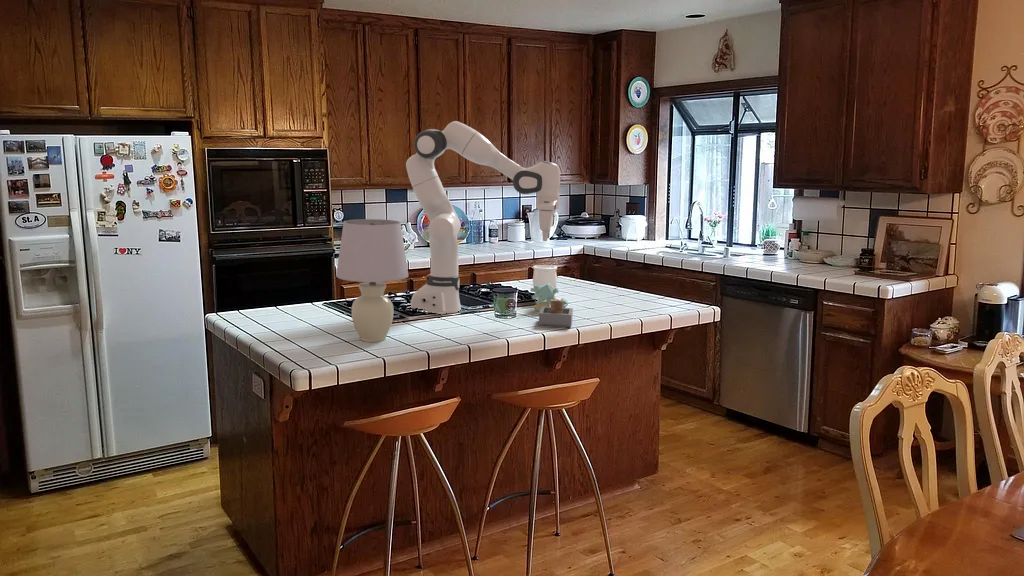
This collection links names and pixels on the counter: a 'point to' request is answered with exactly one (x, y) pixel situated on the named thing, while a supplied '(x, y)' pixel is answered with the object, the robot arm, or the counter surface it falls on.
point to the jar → (544, 276)
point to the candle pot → (555, 317)
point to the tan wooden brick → (556, 306)
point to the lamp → (372, 271)
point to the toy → (545, 296)
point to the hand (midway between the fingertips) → (545, 239)
